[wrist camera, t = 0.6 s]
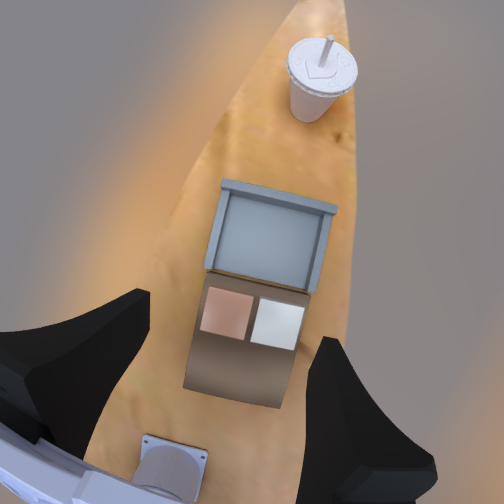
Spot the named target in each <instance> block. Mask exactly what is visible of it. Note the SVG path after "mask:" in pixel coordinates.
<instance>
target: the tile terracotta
mask: <svg viewBox="0 0 504 504" xmlns="http://www.w3.org/2000/svg"><path fill="white" fill-rule="evenodd" d="M253 299H254V294H250V293H245V292H241V291H237V290H233V289H228V288H224V287H220V286H216V285H210V286H209V290H208V294H207V299H206V303H205V308H204V312H203V317H202V322H201V326H200V330H203V331H207V332H211V333H215V334H219V335H224V336H228V337H232V338H237V339H241V340H244V337H245V333H246V328H247V324H248V320H249V316H250V311H251V307H252V303H253Z"/></svg>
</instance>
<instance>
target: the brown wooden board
mask: <svg viewBox="0 0 504 504" xmlns="http://www.w3.org/2000/svg"><path fill="white" fill-rule="evenodd" d="M210 285H216V286H220V287H224V288H228V289H233V290H237V291H241V292H245V293H250V294H254V299H253V303H252V307H251V311H250V316H249V320H248V324H247V328H246V333H245V337H244V340H241V339H237V338H232V337H228V336H224V335H219V334H215V333H211V332H207V331H203V330H200V326H201V322H202V317H203V312H204V308H205V303H206V299H207V294H208V290H209V286H210ZM260 296H263V297H268V298H272V299H277V300H281V301H286V302H290V303H295V304H300V305H302V306H303V307H304V308H305V309H304V313H303V317H302V321H301V325H300V329H299V333H298V336H297V340H296V344H295V348H294V350H289V349H284V348H279V347H274V346H269V345H264V344H259V343H255V342H250V335H251V331H252V327H253V323H254V318H255V314H256V310H257V306H258V302H259V297H260ZM310 297H311V296H310V295H308V294H306V293H304V292H299V291H295V290H290V289H286V288H281V287H277V286H272V285H268V284H263V283H259V282H255V281H250V280H246V279H242V278H237V277H233V276H229V275H225V274H220V273H216V272H212V271H210V272H207V274H206V278H205V283H204V287H203V292H202V297H201V301H200V306H199V310H198V315H197V320H196V325H195V329H194V334H193V339H192V344H191V349H190V354H189V359H188V364H187V369H186V374H185V379H184V384H183V388H185V389H188V390H192V391H196V392H200V393H204V394H208V395H212V396H217V397H221V398H226V399H230V400H235V401H240V402H244V403H249V404H255V405H260V406H266V407H271V408H277V409H280V407H281V404H282V401H283V397H284V394H285V391H286V387H287V384H288V380H289V377H290V373H291V370H292V366H293V363H294V359H295V355H296V352H297V348H298V344H299V340H300V337H301V333H302V329H303V325H304V321H305V317H306V313H307V309H308V305H309V301H310Z"/></svg>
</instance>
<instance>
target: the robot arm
mask: <svg viewBox="0 0 504 504" xmlns="http://www.w3.org/2000/svg"><path fill="white" fill-rule="evenodd" d="M149 330H150V292H148V291H145V290H142V289H139V288H136V289H134V290H132V291H130V292H128V293H126V294H124V295H122V296H120V297H119V298H117V299H115V300H113V301H111V302H109V303H107V304H105V305H103V306H101V307H99V308H96V309H94V310H92V311H89V312H87V313H85V314H83V315H80V316H78V317H75V318H73V319H70V320H67V321H64V322H61V323H57V324H53V325H49V326H45V327H41V328H36V329H31V330H23V331H15V332H0V483H2V484H3V485H4V486H5V487H7V488H8V489H9V490H11V491H12V492H13V493H15V494H16V495H17V496H19V497H20V498H21V499H23V500H24V501H25V502H27V503H28V504H194V502H196V501H197V498H198V494H199V490H200V486H201V482H202V477H203V473H204V469H205V465H206V461H207V456H208V452H207V451H206V450H202V449H198V448H194V447H190V446H186V445H182V444H178V443H175V442H171V441H168V440H164V439H161V438H157V437H154V436H151V435H148V434H145V435H144V436H143V438H142V447H141V456H140V464H139V466H138V468H137V470H136V472H135V474H134V476H133V477H132V479H131V481H130V482H129V481H127V480H124V479H122V478H119V477H117V476H115V475H112V474H110V473H108V472H106V471H103V470H101V469H99V468H97V467H95V466H93V465H91V464H89V463H87V462H85V461H83V458H84V455H85V453H86V450H87V447H88V444H89V441H90V439H91V436H92V434H93V431H94V429H95V426H96V424H97V422H98V420H99V417H100V415H101V413H102V411H103V408H104V406H105V404H106V402H107V400H108V398H109V396H110V394H111V392H112V391H113V389H114V387H115V386H116V384H117V383H118V381H119V380H120V378H121V377H122V375H123V374H124V372H125V371H126V369H127V368H128V366H129V365H130V363H131V362H132V361H133V359H134V358H135V356H136V355H137V353H138V352H139V350H140V349H141V347H142V345H143V343H144V341H145V339H146V337H147V334H148V332H149ZM145 440H146V441H148V442H146V441H145ZM201 456H204V457H201ZM437 480H438V477H437V471H436V465H435V462H434V458H433V456H432V455H431V454H429V453H428V452H427V451H425V450H424V449H422V448H421V447H420V446H418V445H417V444H415V443H414V442H413V441H412V440H411V439H410V438H408V437H407V436H406V435H405V434H404V433H403V432H401V431H400V430H399V429H398V428H397V427H396V426H395V425H394V424H393V423H392V421H390V419H389V418H388V417H387V416H386V415H385V414H384V413H383V412H382V410H381V409H380V408H379V407H378V405H377V404H376V403H375V402H374V400H373V399H372V398H371V396H370V395H369V393H368V392H367V390H366V389H365V387H364V386H363V384H362V383H361V381H360V379H359V378H358V376H357V374H356V372H355V371H354V369H353V367H352V365H351V363H350V361H349V359H348V358H347V356H346V354H345V352H344V350H343V348H342V346H341V344H340V342H339V340H338V339H335V338H330V337H325V336H323V339H322V341H321V343H320V346H319V348H318V351H317V353H316V355H315V358H314V360H313V362H312V365H311V367H310V369H309V372H308V380H307V388H306V443H305V452H304V460H303V466H302V472H301V478H300V484H299V489H298V494H297V499H296V504H416V502H415V500H416V499H417V498H419V497H420V496H421V495H423V494H424V493H426V492H427V491H428V490H429V489H431V488H432V487H433V486H434V484H435V483H436V481H437Z"/></svg>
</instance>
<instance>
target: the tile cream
mask: <svg viewBox="0 0 504 504" xmlns="http://www.w3.org/2000/svg"><path fill="white" fill-rule="evenodd" d="M304 309H305V308H304V307H303V306H302V305H300V304H295V303H290V302H286V301H281V300H277V299H272V298H268V297H263V296H260V297H259V302H258V306H257V310H256V314H255V318H254V323H253V327H252V331H251V335H250V342H255V343H259V344H264V345H269V346H274V347H279V348H284V349H289V350H294V348H295V344H296V340H297V336H298V333H299V329H300V325H301V321H302V317H303V313H304Z"/></svg>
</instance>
